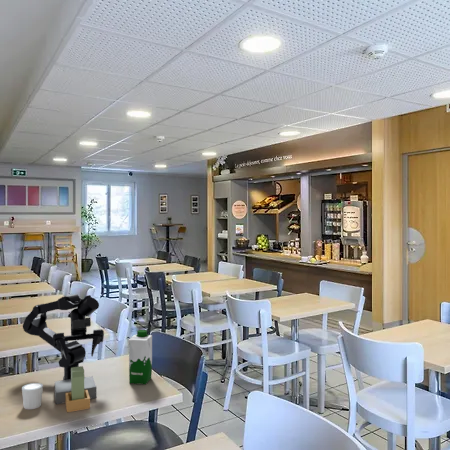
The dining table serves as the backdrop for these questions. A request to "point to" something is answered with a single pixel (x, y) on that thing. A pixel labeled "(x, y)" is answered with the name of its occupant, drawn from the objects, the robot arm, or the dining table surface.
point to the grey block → (65, 394)
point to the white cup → (32, 395)
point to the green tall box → (77, 383)
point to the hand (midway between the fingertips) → (79, 357)
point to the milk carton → (140, 357)
